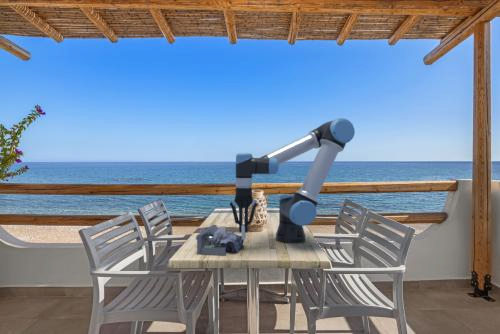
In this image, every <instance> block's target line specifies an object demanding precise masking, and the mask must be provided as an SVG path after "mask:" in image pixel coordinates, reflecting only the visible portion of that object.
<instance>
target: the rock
mask: <svg viewBox="0 0 500 334" xmlns="http://www.w3.org/2000/svg"><path fill="white" fill-rule="evenodd" d="M221 239H222V240H220V245H221V246H222V247H224V248H226V251H228V252H232V253H238V252H239V251H240V249H242V247H243V245H244V243H245V242H244V241H245V240H241V239H242V237H241V235H239V234H236V233H233V232H229V231H227V233H226V234H225V235H224V236H223V237H222V238H221Z"/></svg>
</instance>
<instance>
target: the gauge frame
mask: <svg viewBox="0 0 500 334" xmlns="http://www.w3.org/2000/svg"><path fill="white" fill-rule="evenodd" d="M217 226H218V225H217V224H212V225H210V226H209V227H207V228H206V229H204V230H202V232H201V231H200V233H199V234H197V235H196V236H197V240H196V255H209V256H223V257H224V256H227V250H226V248H224V247H223V246H222V247H214V244H212V241H208V236H214V233H215V232H216V231H217V230H218V229H217Z"/></svg>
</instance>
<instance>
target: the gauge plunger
mask: <svg viewBox="0 0 500 334" xmlns="http://www.w3.org/2000/svg"><path fill="white" fill-rule="evenodd" d="M227 232H228V230H226V226H220V228H218V229H217V231H216V232H215V233H214V236H208V241H212V245H213V247H223V246H221V245H220V240H222V239H221V238H222V237H223V236H224V235H225V234H226V233H227ZM195 240H196V241H197V235H196V236H195Z"/></svg>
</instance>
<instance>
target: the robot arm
mask: <svg viewBox="0 0 500 334" xmlns="http://www.w3.org/2000/svg"><path fill="white" fill-rule="evenodd" d="M355 134H356V133H355V127H354V125H353V123H352V122H351V121H350V120H349V119H347V118H343V117H340V118H339V117H338V118H334V120H330V121H327V122H324V123H322V124H320V125H319V126H318V127H316V128H315V129H313V130H310V131H309V132H308V133H307V135H305V136H302V137H300V138H298V139H296V140H295V141H292V142H290V143H288V144H285V145H283V146H282V147H279V148H277V149H275V150H273V151H271V152H269V153H266V154H265V155H263V156H261V157H253V154H252V153H247V152H245V153H243V152H242V153H241V152H239V153H237V154H236V155H235V163H234V164H235V197H234V200H233V201H230V202H229V206H230V207H231V211H232V215H233V219H234V223H235V224H237V225H238V227H239V230H238V232H239V233H240V234H241V235H240V236H241V237H242V239H241V240H244V241H245V240H246V236H247V235H246V233H248V231H249V225H251V224H252V223H253V219H254V215H255V212H256V208H257V206H258V205H259V203H258V202H255V201H254V198H253V188H252V187H253V175H270V176H271V175H276V174H278V172H279V167H280V165H281V164H284V163H286V162H288V161H290V160H292V159H294V158H296V157H299V156H300V155H303V154H305V153H307V152H309V151H311V150H313V149H318V152H317V153H316V155H315V157H314V159H313V161H312V164H311V167H310V168H309V170H308V173H307V175H306V176H305V179H304V180H303V183H302V185H301V187H300V188H299V190H297V191H294V193H293V194H281V195H280V196H279V200H278V202H279V205H278V207H279V211H278V213H279V214H278V216H279V218H278V219H279V220H278V222H279V223H278V226H277V229H276V233H275V240H277V241H279V242H282V243H287V244H288V243H290V244H293V243H294V244H296V243H297V244H298V243H303V242H305V241H306V233H305V229H304V226H309V225H310V224H312V223H313V222H314V221H315V220H316V217H317V206H318V204H319V201H318V196H319V193H320V192H321V190H322V188H323V186H324V183H325V181H326V179H327V177H328V175H329V173H330V171H331V168H332V167H333V164H334V162H335V160H336V158H337V156H338V154H339V153H341V152H343V151H344V149H345V147H346V145H347V143H350V142H351V141H352V140H353V139H354V137H355ZM236 205H237V207H238V212H237V207H236ZM250 206H252V208H251V211H250V216H249V207H250ZM243 211H244V213H243ZM243 215H244V216H243ZM243 218H244V219H243ZM243 220H244V221H243Z"/></svg>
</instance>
